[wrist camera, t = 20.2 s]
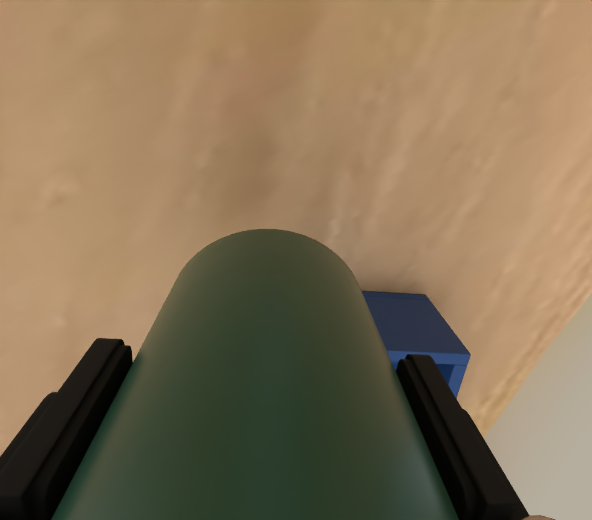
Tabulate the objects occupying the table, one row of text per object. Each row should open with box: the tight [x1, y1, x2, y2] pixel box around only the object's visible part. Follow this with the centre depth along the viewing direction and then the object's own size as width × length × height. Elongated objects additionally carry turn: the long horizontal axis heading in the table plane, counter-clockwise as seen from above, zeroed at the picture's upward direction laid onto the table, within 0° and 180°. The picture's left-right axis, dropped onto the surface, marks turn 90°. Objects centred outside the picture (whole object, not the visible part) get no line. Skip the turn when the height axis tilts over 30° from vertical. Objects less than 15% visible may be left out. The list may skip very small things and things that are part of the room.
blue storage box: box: [362, 291, 471, 398], centre depth 29 cm, size 19×13×7 cm
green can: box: [51, 229, 459, 520], centre depth 8 cm, size 7×7×11 cm
